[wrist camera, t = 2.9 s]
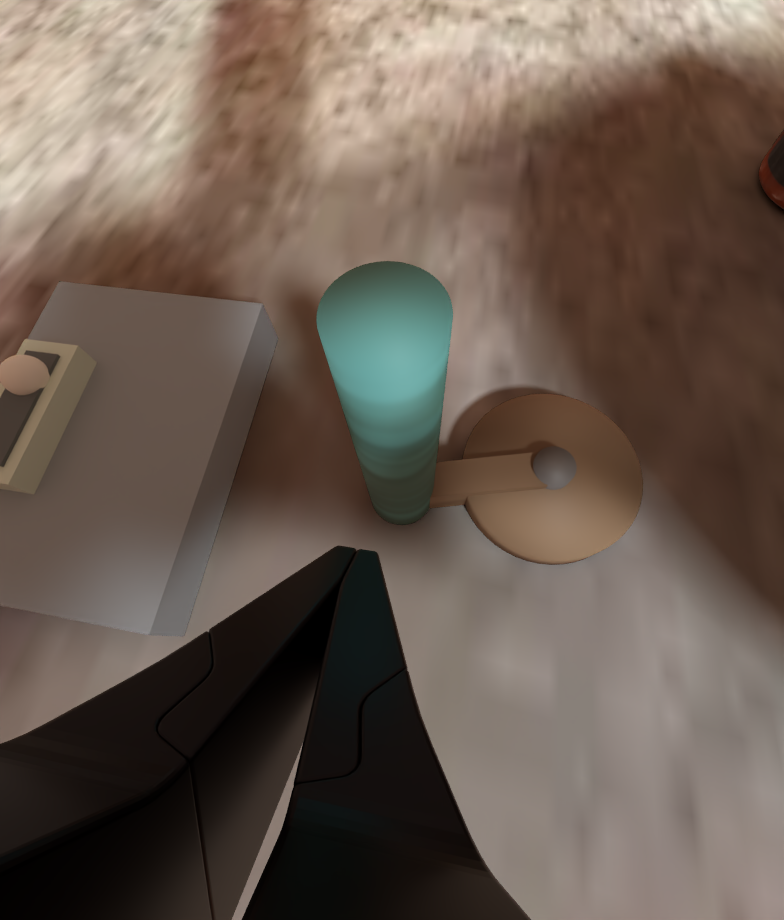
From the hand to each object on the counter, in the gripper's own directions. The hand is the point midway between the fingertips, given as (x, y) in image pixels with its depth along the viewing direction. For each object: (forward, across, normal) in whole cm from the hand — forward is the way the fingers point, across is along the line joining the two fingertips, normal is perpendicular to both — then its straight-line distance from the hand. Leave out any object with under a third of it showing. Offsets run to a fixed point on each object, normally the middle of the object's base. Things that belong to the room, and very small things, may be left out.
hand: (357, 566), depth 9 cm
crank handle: (+11, -4, +2) cm, 12 cm away
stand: (+10, +12, +3) cm, 16 cm away
